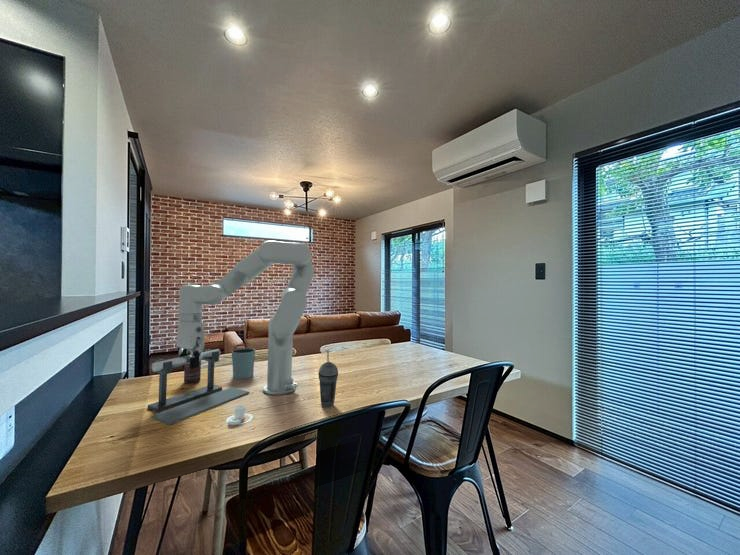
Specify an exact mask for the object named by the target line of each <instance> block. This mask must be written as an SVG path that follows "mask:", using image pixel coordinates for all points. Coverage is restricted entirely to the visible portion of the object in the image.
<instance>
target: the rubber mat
mask: <svg viewBox="0 0 740 555" xmlns="http://www.w3.org/2000/svg"><path fill="white" fill-rule="evenodd" d="M248 394H250V391H247V390H243V389H241V388H236V387H232V386H231V387H228V388H226V389H222V390H221V391H218V392H215V393H212V394H209V395H206V396H203V397H201V398H198V399H195V400H192V401H189V402H186V403H183V404H181V405H178V406H175V407H172V408H169V409H166V410H163V411H161V412H156V413H155V414H152V415H150V416H151V418H152V419H154V420H157V421H159V422H160V423H161V422H162V423H164V424H167V425H168V426H170V425H173V424H175V423H178V422H180V421H183V420H185V419H188V418H191V417H194V416H195V415H196V416H197V415H199V414H200V413H203V412H206V411H208V410H210V409H213V408H216V407H218V406H221V405H223V404H227V403H228V402H232V401H234V400H236V399H238V398H241V397H244V396H246V395H248Z"/></svg>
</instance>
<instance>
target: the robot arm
mask: <svg viewBox="0 0 740 555" xmlns="http://www.w3.org/2000/svg"><path fill="white" fill-rule="evenodd" d="M311 259H312V251H311V249H310V248H309V246H308V245H306V244H304V243H299V242H287V241H286V242H285V241H277V240H266V241H264V242H262V243H261V244H260V246H259V247H258V248H256V249H255V250H253V251H252V252H251V253H250V254H248V255H247V256H246V257H244V258H242V259H241V260H239V261H238V262H237V263H236V264H235V265H234V266H233V267H232V269H231V270H230V271H229V272H228V273H226V274H225V275H223V276H222V277H221V278H220V279H218V280H217V281H215V283H213V284H207V285H200V284H183V285H181V286H180V287H179V298H178V299H179V300H178V302H179V304H178V306H179V307H178V325H177V333H176V334H177V335H176V342H175V345H176V348H177V351H178V353H177V354H178V358H179V357H183V356H188V355H189V354H187V353H188V350H190V352H191V357H192V358H190V369H193V368H197V367H199V357H200V354H201V353H202V352H204V350H205V329H204V328H205V326H204V323H203V305H208V306H209V305H210V306H215V305H218V304H220V303H222V302H223V301H225V300H226V299H227V298H228V297H229V296H231V295H233V293H235V292H236V291H237V290H239V289H240V288H242V287H243V286H244V285H247V284H249V283H250V282H251V281H253V280H254V279H255V278H257V277H258V276H260V275H261V274H262V273H263V272H264V271H266V270H267V269H269V268H271V267H272V266H273V265H274V264H283V265H292V268H293V270H292V274H291V276H290V279H289V281H288V283H287V286H286V288H285V289H284V291H283V293H282V295H281V297H280V303H279V305H278V308H277V309H276V312H275V313H274V314H272V316H271V317H270V318H269V321H268V340H267V341H268V345H267V346H268V347H267V348H268V349H267V376H266V377H267V378H266V382H267V383H266V384H265V385H264V386H263V387H262V391H263V393H264V394H267V395H271V396H272V395H273V396H274V395H276V396H280V395H286V394H289V393H292V392H294V391H295V390H297V387H298V386H299V385H298V384H299V383H298V382H294V378H292V376H293V375H292V374H293V372H292V371H293V370H292V369H293V339H294V338H293V336H294V334H295V331H296V330H297V328H298V326H299V324H300V322H301V319H302V316H303V315H304V313H305V310H306V308H307V303H308V298H307V293H308V290H309V288H310V286H311V283H312V281H313V278H314V271H315V270H314V265H313V261H312V260H311ZM194 348H195V349H194ZM195 350H196V352H195V353H194V351H195ZM185 365H188V364H185ZM183 366H184V365H181V366H180V367H183Z"/></svg>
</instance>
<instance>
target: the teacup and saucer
mask: <svg viewBox="0 0 740 555" xmlns="http://www.w3.org/2000/svg"><path fill="white" fill-rule="evenodd" d="M245 416H246V417H249V418H248V420H246V421H244V422H242V420H244V418H245ZM253 418H254V416H253V415H252V414H251V413H246V406H244V405H237V406H235V407H234V414H233V415H230V416H228V417H227V419H225V422H226V424H228V425H230V426H240V425H244V424H247V423H249V422H251V421H252V420H253Z"/></svg>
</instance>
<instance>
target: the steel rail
mask: <svg viewBox="0 0 740 555" xmlns="http://www.w3.org/2000/svg"><path fill="white" fill-rule="evenodd" d="M214 351H219V357H220V356H221V355H222V354H221V353H222V352H221V350H220V349H219V348H217V349H211V351H207V352H204V351H202V353H201V354H200V357H199V361H201V362H202V361H205V360H207V359H211V358H212V352H214ZM190 358H192V357H191V355H188V356H183V357H179V356H178V357H175V358H170V359H164V361H160V362H155V361H154V362H152V364H151V370H152V372H154V373H157V372H156V371H160V370H163V362H168V361H172V369H173V368H177V367H182V366H181V365H185V364H190Z"/></svg>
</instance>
